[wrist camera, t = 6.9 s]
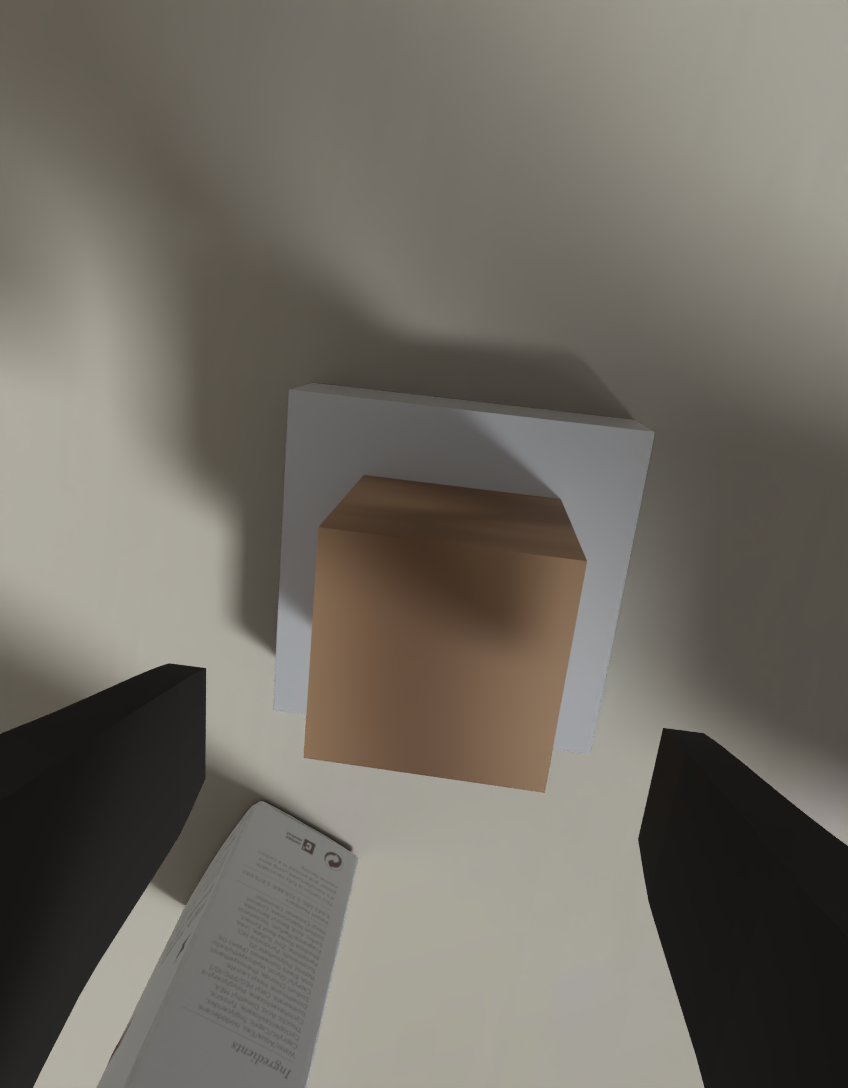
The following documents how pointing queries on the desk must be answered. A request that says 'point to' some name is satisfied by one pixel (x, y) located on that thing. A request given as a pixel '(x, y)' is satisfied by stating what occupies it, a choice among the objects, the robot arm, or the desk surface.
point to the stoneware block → (473, 462)
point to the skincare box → (244, 965)
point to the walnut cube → (442, 631)
